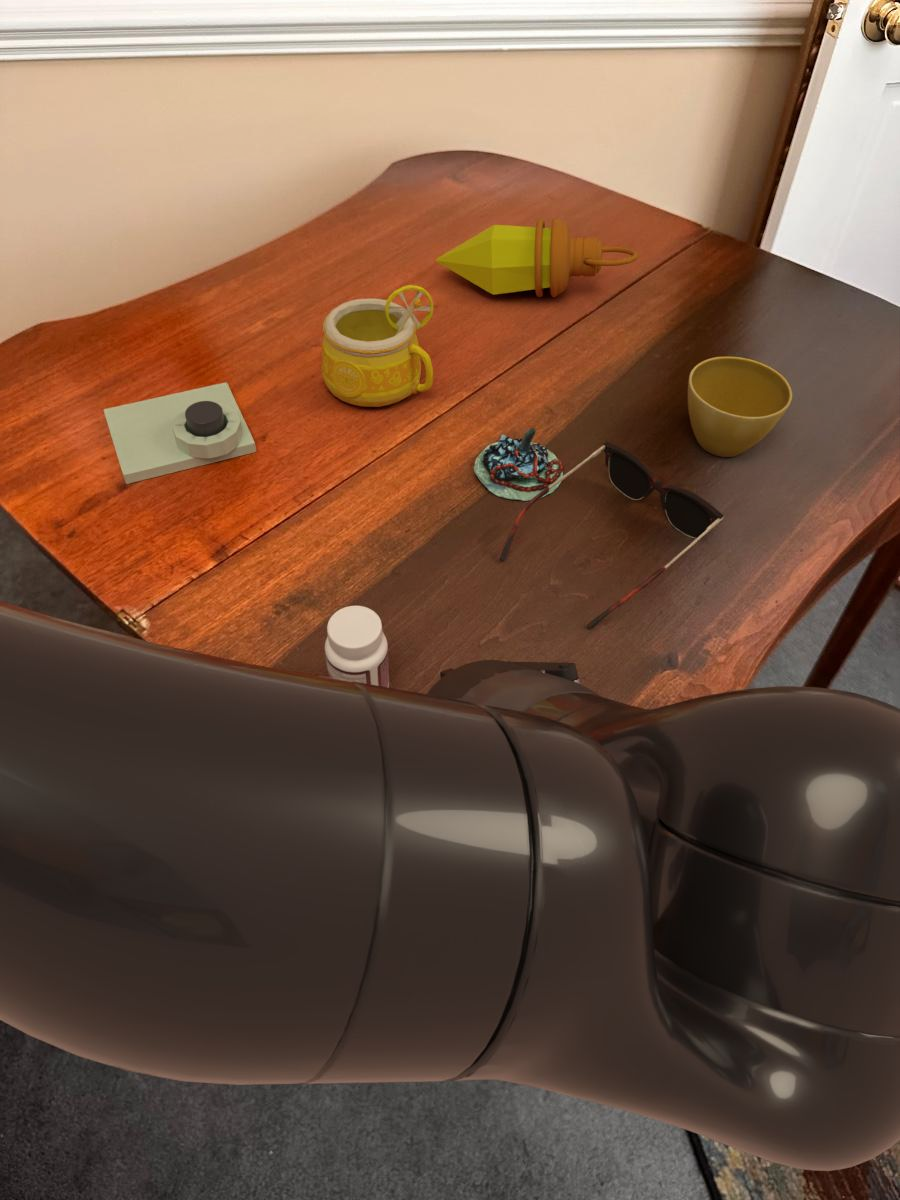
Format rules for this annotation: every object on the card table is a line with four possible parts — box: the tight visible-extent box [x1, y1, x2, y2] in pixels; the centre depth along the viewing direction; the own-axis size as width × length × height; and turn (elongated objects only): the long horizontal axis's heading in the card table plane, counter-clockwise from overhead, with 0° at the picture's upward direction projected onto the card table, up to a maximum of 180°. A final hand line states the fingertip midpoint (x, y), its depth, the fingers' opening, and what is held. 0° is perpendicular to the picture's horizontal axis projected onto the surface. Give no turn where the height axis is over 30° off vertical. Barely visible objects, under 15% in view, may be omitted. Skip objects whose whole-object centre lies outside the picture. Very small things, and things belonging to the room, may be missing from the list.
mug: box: [321, 284, 435, 408], centre depth 91 cm, size 13×11×12 cm
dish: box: [473, 427, 564, 502], centre depth 87 cm, size 8×7×8 cm
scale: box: [102, 381, 257, 485], centre depth 88 cm, size 13×12×3 cm
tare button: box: [185, 401, 225, 437], centre depth 86 cm, size 4×4×2 cm
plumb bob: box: [434, 216, 639, 298], centre depth 107 cm, size 9×9×25 cm
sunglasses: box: [499, 441, 725, 630], centre depth 79 cm, size 14×16×5 cm
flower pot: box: [687, 356, 793, 458], centre depth 89 cm, size 10×10×7 cm
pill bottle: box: [324, 605, 390, 688], centre depth 67 cm, size 5×5×8 cm
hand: (412, 699), depth 53 cm, fingers open, 4 cm apart
